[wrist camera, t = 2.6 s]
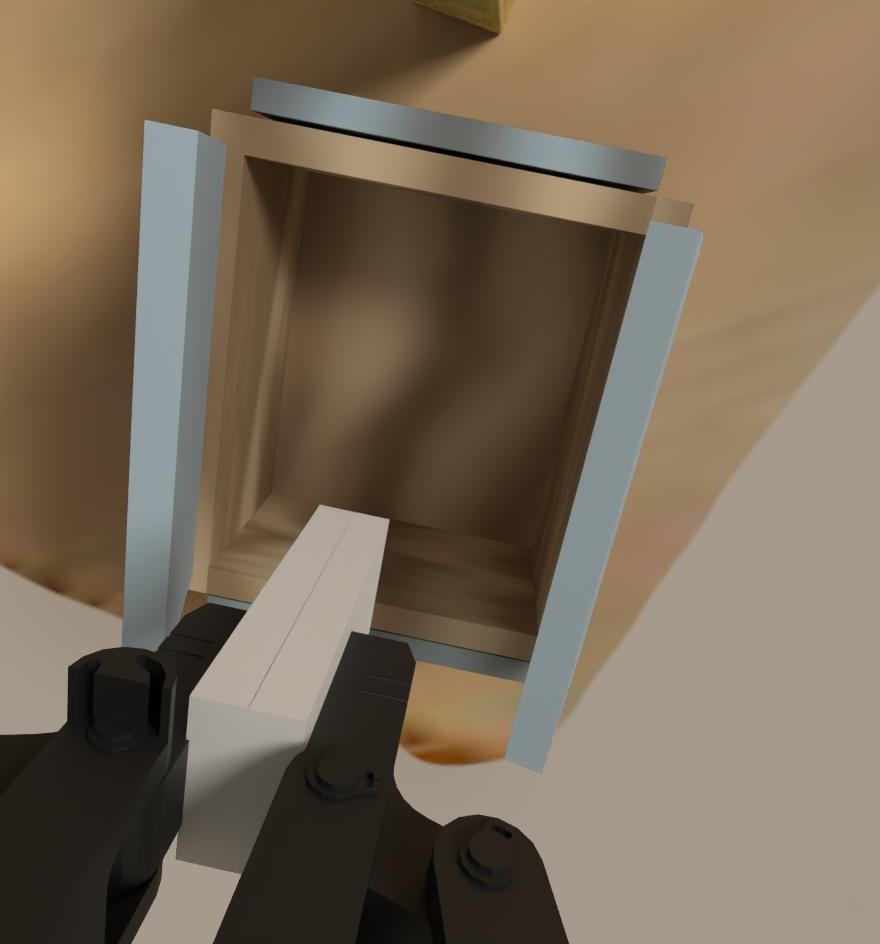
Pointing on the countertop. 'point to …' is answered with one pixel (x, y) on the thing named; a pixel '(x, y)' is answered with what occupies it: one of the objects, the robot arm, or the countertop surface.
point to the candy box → (473, 11)
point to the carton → (413, 353)
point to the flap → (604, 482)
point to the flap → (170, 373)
